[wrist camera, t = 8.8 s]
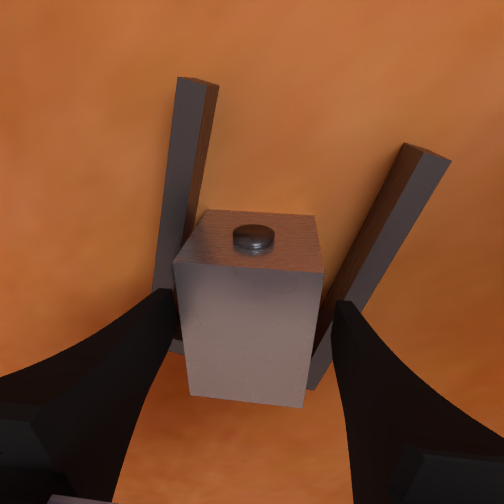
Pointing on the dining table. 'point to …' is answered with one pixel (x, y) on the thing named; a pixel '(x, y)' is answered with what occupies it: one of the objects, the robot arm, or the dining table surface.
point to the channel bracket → (362, 252)
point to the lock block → (250, 305)
